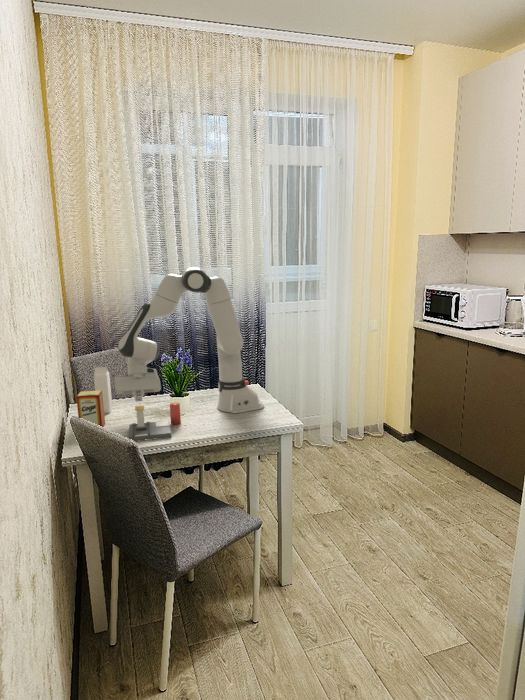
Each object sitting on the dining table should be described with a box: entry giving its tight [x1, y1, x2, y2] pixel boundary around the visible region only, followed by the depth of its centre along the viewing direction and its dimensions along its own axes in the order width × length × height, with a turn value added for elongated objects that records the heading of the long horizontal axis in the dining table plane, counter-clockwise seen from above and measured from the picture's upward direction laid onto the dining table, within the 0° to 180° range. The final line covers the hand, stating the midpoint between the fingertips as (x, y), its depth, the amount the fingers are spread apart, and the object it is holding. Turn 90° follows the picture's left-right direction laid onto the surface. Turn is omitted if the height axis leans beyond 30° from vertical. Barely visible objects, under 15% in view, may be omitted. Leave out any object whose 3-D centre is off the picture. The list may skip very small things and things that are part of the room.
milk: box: [93, 366, 113, 414], centre depth 237 cm, size 6×6×22 cm
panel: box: [128, 420, 172, 442], centre depth 211 cm, size 17×15×3 cm
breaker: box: [134, 405, 147, 430], centre depth 210 cm, size 4×5×9 cm
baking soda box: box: [75, 390, 106, 428], centre depth 217 cm, size 10×6×16 cm
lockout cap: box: [169, 402, 182, 426], centre depth 221 cm, size 4×4×9 cm
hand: (138, 400), depth 222 cm, fingers closed
